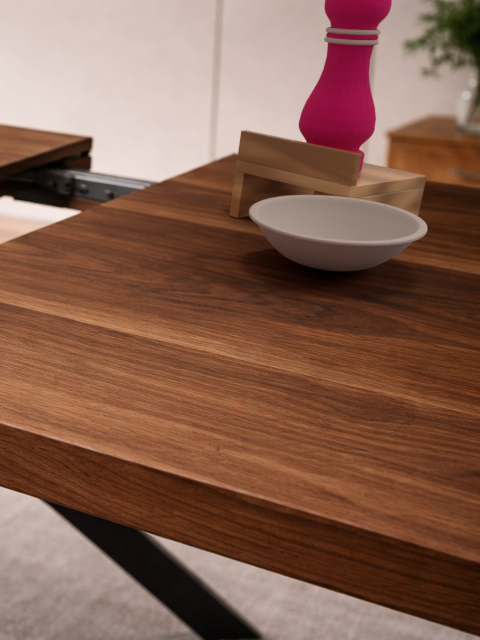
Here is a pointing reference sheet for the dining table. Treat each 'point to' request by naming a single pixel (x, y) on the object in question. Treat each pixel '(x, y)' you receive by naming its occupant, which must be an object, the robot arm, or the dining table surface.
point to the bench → (315, 175)
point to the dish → (336, 230)
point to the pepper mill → (345, 78)
